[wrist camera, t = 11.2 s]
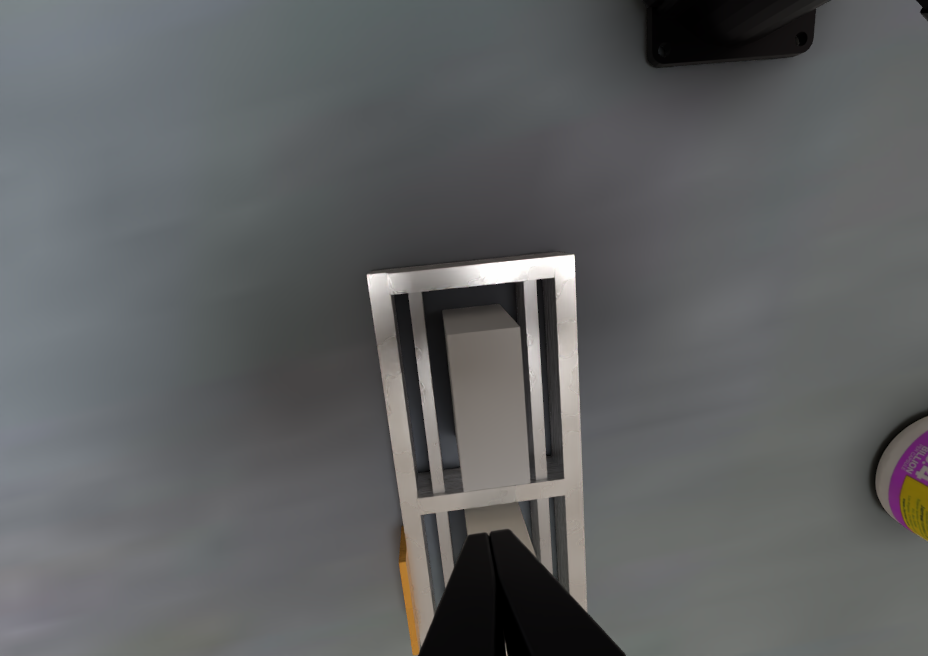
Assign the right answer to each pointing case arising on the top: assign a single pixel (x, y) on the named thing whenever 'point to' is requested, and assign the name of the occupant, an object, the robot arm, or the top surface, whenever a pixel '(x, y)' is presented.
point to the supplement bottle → (906, 478)
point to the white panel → (498, 521)
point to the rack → (546, 472)
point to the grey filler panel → (487, 396)
